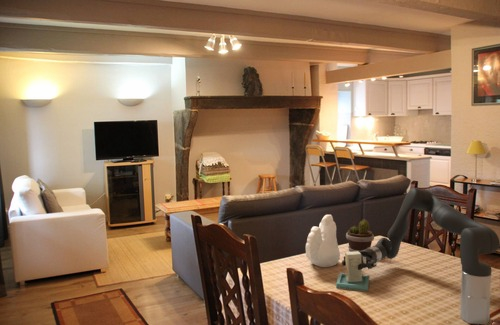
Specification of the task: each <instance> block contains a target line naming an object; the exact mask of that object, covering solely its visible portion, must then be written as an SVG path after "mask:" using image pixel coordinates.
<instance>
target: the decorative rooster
mask: <svg viewBox="0 0 500 325" xmlns="http://www.w3.org/2000/svg"><path fill="white" fill-rule="evenodd" d="M305 257H306V258H307V259H308V260H309V261H310V263H311V264H312V265H314V266H317V267H319V268H321V267H322V268H331V267H333V266H336V265H337V264H338V263H339V261H340V259H341V251H340V248H339V244H338V239H337V225H336V222H335V221H334V218H333V215H332V214H325V215H324V216H323V217H322V219H321V221H320V222H319V226H312V227H311V228H310V232H309V233H308V236H307V239H306V243H305Z"/></svg>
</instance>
